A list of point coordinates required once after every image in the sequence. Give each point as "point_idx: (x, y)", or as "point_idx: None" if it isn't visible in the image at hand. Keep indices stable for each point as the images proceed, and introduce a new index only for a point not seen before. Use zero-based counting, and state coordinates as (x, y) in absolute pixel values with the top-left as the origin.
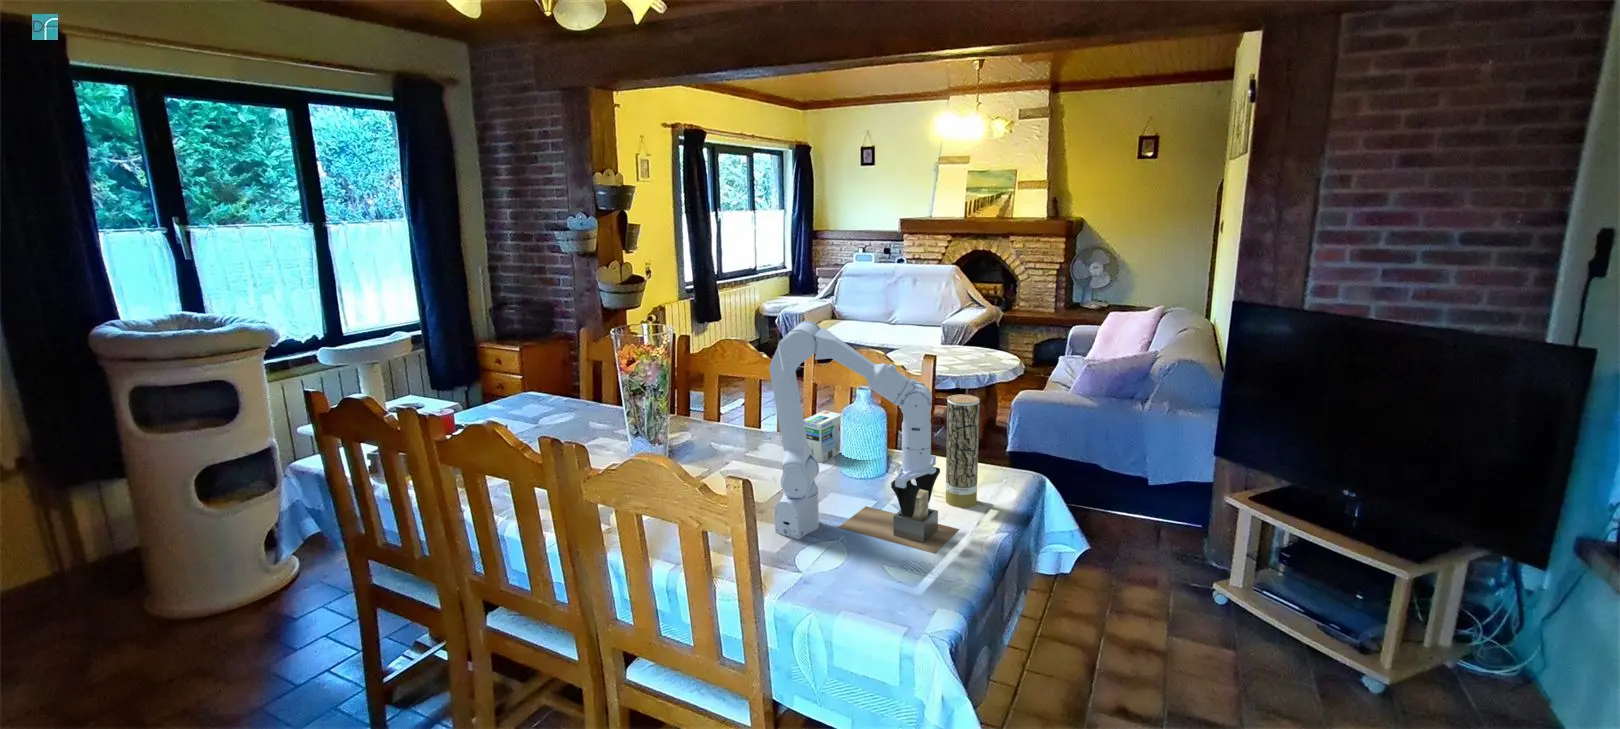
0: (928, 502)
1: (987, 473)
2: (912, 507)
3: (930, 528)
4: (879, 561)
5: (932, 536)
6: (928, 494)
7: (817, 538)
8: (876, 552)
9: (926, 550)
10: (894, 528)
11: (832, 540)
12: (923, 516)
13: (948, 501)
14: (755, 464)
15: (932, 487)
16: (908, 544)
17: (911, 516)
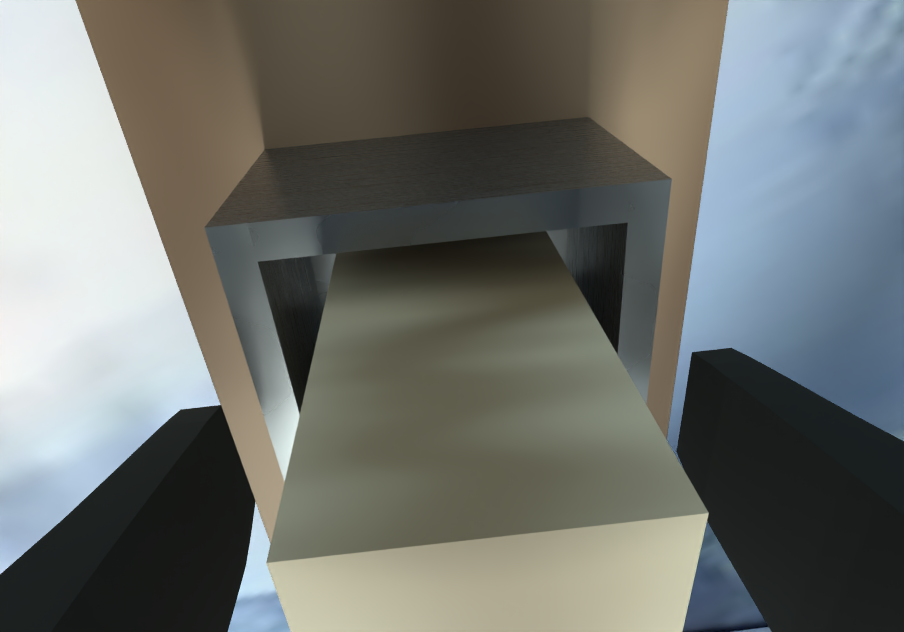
0: (199, 409)
1: None
2: (874, 429)
3: (443, 156)
4: (885, 269)
5: (417, 120)
6: (166, 505)
7: (727, 615)
8: (768, 347)
9: (716, 12)
10: None
11: (719, 568)
12: (461, 291)
13: None
14: None
15: (12, 592)
16: (669, 215)
17: (741, 353)
